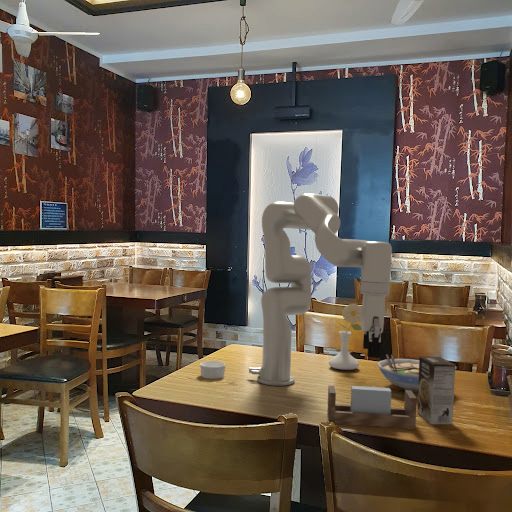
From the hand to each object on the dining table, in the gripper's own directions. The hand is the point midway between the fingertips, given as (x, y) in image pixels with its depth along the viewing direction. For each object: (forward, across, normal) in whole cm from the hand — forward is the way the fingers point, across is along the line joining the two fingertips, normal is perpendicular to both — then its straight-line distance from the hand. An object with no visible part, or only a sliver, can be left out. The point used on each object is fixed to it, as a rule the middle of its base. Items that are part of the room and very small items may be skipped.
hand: (371, 353), depth 133 cm
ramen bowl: (+19, -34, +18) cm, 43 cm away
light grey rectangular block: (+17, +1, 0) cm, 17 cm away
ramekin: (+20, -35, -48) cm, 63 cm away
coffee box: (+18, -5, +18) cm, 26 cm away
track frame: (+18, +1, 0) cm, 18 cm away
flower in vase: (+19, -56, -1) cm, 60 cm away
